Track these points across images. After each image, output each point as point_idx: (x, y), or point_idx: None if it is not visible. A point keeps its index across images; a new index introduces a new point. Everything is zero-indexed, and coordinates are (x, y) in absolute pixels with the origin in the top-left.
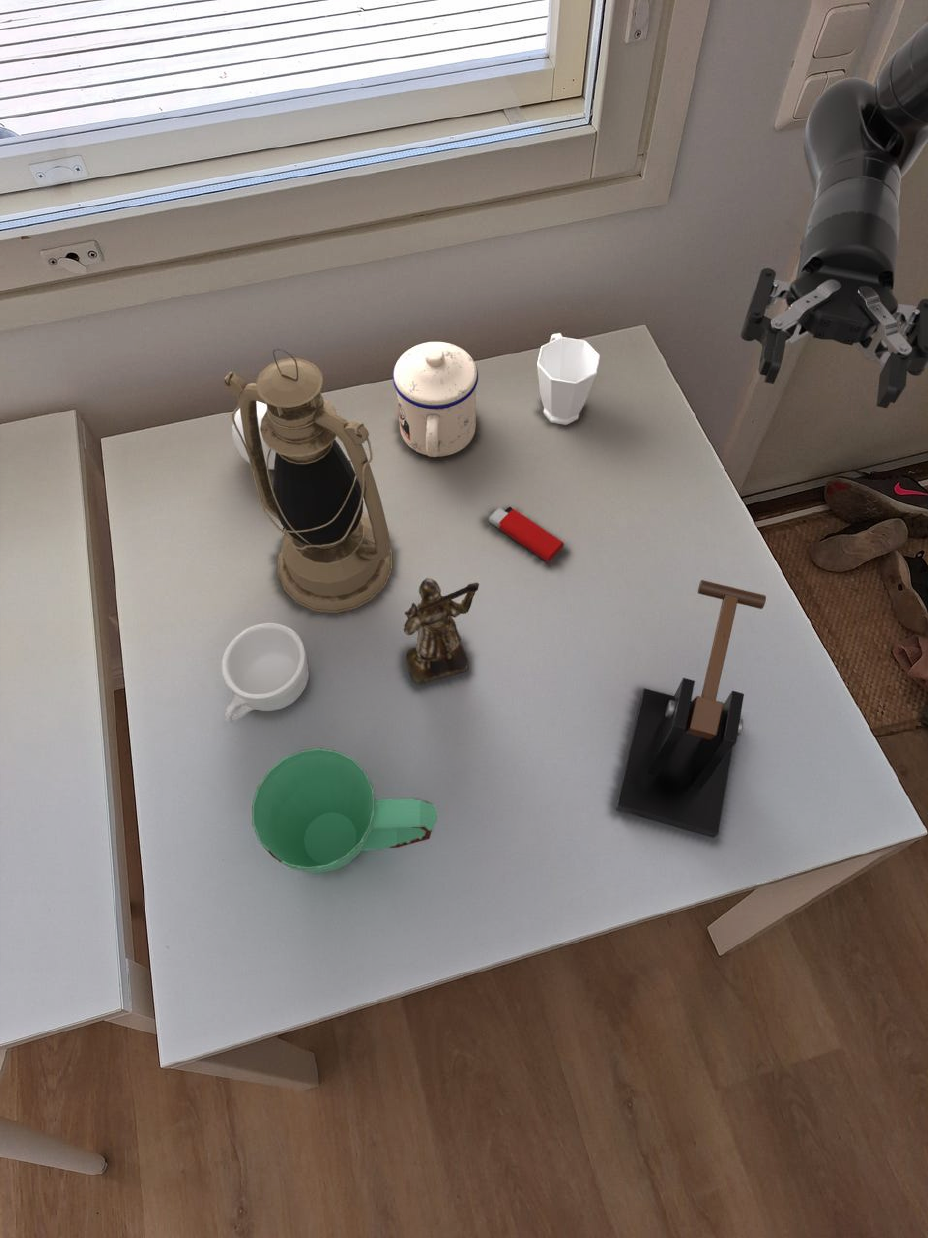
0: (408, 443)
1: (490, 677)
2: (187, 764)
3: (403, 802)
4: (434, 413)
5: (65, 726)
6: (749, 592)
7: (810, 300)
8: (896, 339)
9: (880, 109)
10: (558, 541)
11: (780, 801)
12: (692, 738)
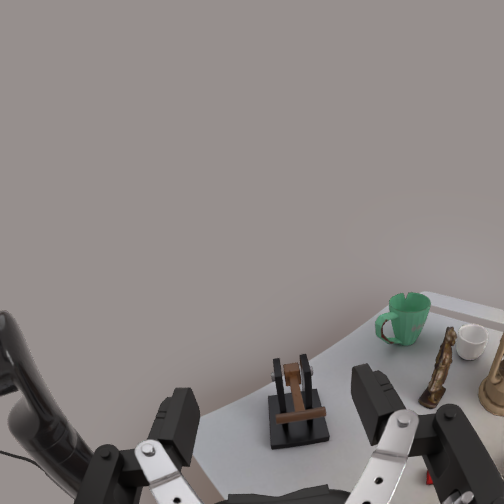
0: None
1: (406, 406)
2: (459, 328)
3: (389, 316)
4: None
5: (490, 315)
6: (288, 416)
7: (374, 488)
8: (157, 466)
9: None
10: (431, 479)
11: (240, 422)
12: (292, 425)
